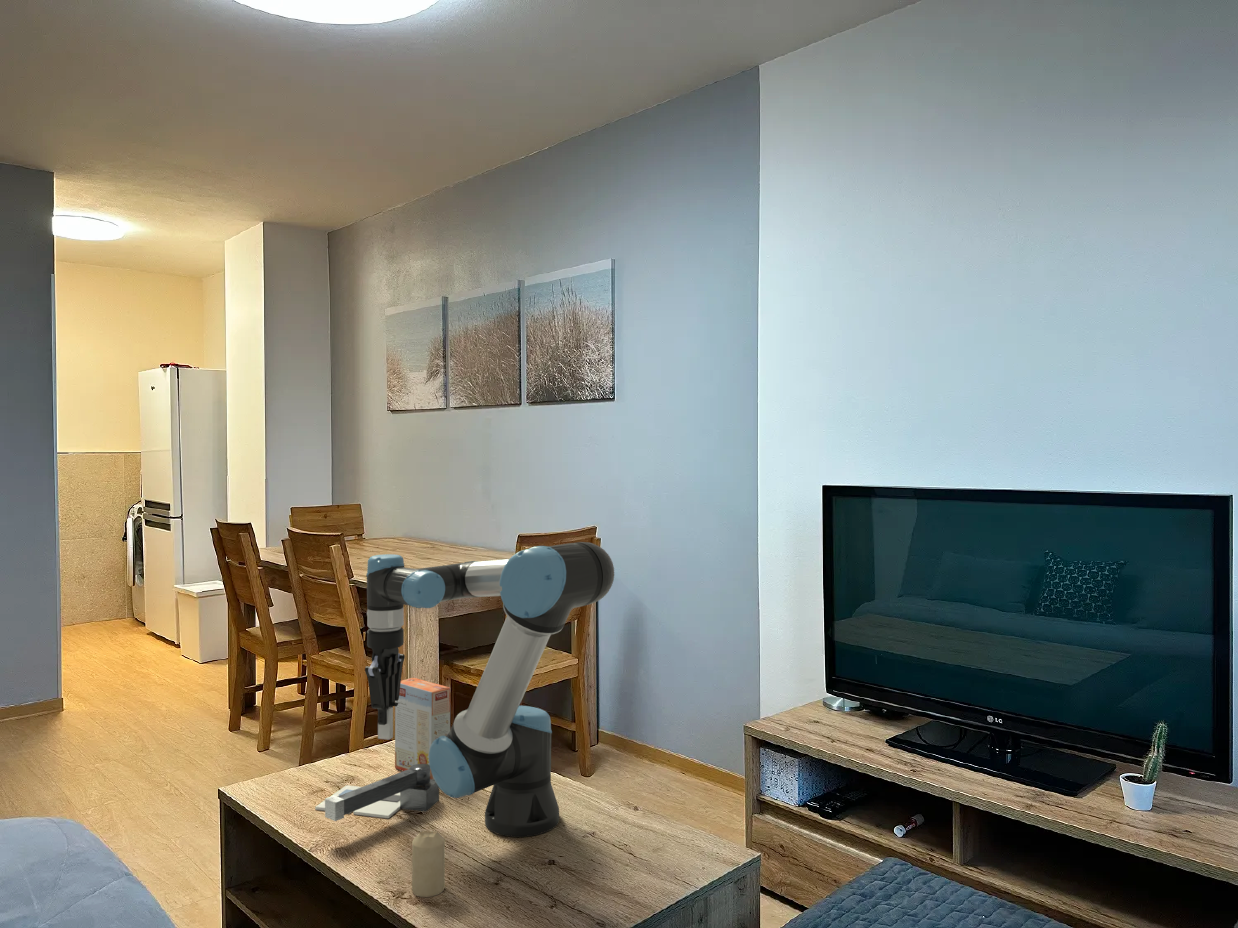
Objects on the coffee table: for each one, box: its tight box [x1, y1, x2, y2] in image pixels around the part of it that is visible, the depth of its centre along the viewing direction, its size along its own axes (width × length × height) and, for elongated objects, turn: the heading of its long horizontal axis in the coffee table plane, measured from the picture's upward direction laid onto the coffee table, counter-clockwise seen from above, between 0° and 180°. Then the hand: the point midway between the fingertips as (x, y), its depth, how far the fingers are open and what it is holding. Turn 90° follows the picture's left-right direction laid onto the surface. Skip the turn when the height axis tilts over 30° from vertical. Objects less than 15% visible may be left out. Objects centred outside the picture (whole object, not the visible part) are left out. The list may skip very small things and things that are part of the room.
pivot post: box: [399, 779, 440, 813], centre depth 187 cm, size 6×6×4 cm
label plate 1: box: [314, 784, 362, 814], centre depth 189 cm, size 8×12×1 cm, turn 166°
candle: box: [411, 830, 446, 898], centre depth 152 cm, size 6×6×10 cm
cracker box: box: [394, 677, 451, 779], centre depth 206 cm, size 14×6×21 cm, turn 50°
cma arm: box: [324, 764, 430, 822], centre depth 179 cm, size 25×4×4 cm, turn 144°
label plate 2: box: [353, 793, 401, 819], centre depth 187 cm, size 8×12×1 cm, turn 166°
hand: (385, 737), depth 187 cm, fingers closed
